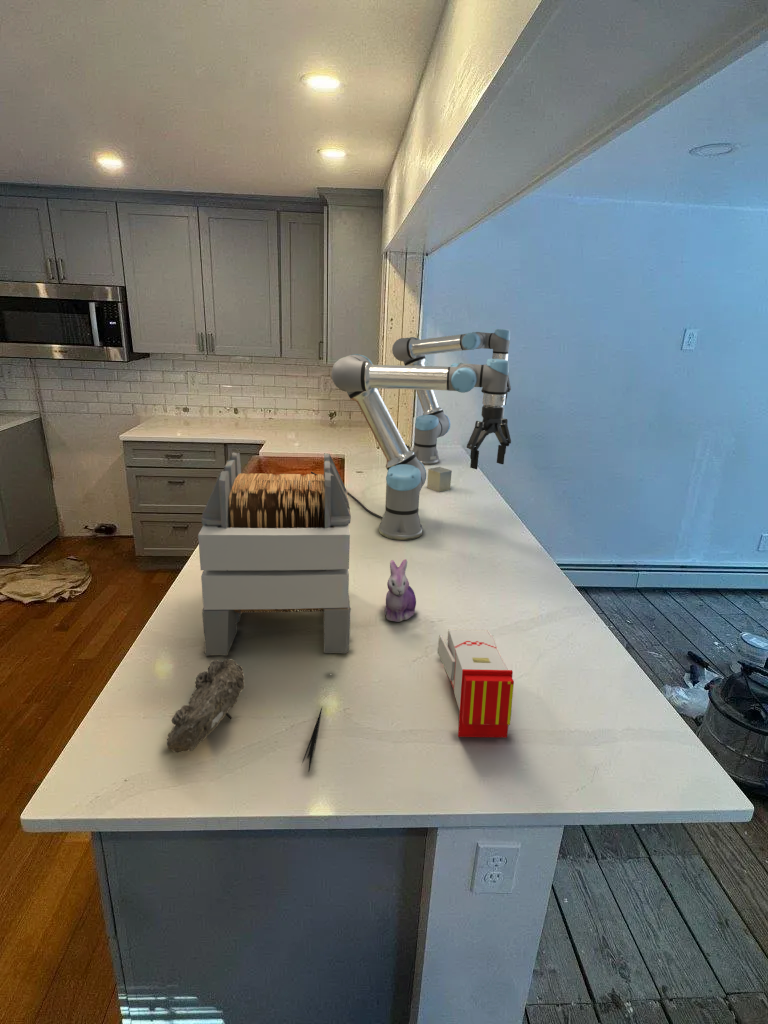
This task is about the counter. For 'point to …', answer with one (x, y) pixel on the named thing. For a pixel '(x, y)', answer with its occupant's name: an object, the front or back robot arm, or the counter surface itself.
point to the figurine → (399, 594)
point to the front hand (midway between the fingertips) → (487, 465)
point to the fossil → (206, 705)
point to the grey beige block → (439, 479)
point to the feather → (313, 740)
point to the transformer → (275, 551)
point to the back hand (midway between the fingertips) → (494, 405)
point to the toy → (478, 682)
